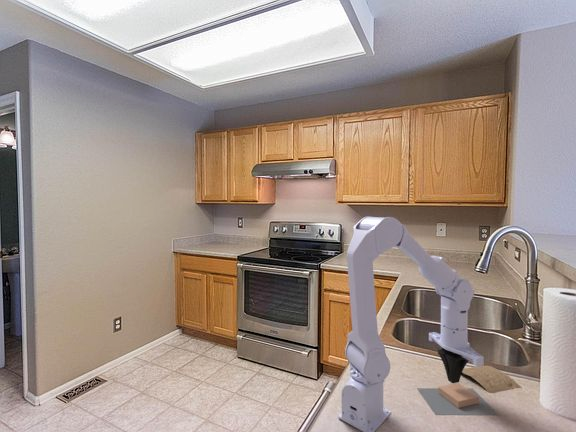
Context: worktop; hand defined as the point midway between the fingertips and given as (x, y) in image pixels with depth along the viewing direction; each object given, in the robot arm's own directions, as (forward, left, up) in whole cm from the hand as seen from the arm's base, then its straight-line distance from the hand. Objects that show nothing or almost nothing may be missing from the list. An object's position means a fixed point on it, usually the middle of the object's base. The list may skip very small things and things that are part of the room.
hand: (453, 381), depth 74 cm
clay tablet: (+14, -4, -5) cm, 15 cm away
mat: (-2, -1, -4) cm, 4 cm away
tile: (+1, +1, -2) cm, 3 cm away
